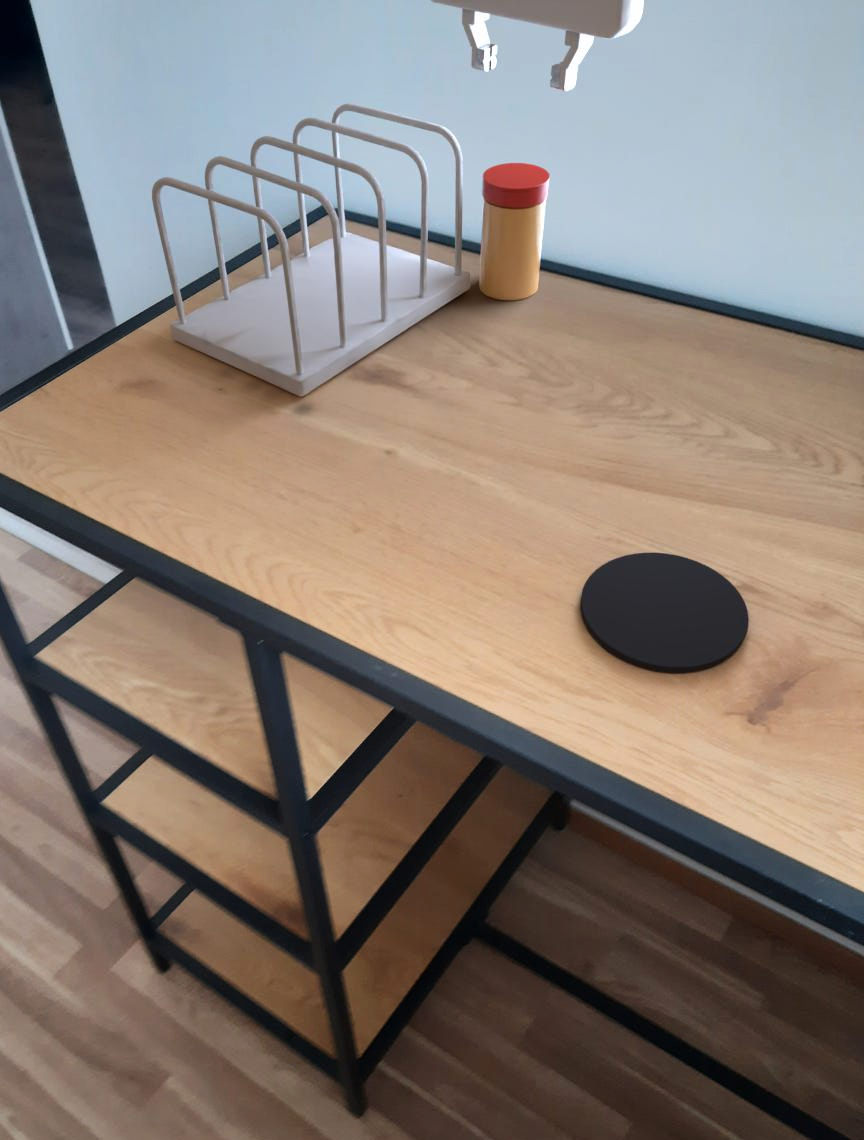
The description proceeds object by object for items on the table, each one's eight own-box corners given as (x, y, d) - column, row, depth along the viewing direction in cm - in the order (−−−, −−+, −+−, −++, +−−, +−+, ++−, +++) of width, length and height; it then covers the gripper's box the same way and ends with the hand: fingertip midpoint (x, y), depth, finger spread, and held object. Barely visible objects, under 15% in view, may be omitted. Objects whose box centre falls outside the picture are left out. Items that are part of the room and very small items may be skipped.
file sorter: (344, 247, 103) (334, 90, 92) (471, 292, 95) (478, 126, 84) (171, 340, 90) (135, 170, 79) (302, 401, 82) (283, 222, 71)
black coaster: (693, 544, 68) (695, 538, 68) (780, 650, 61) (782, 644, 60) (553, 578, 66) (554, 571, 66) (626, 691, 59) (627, 685, 58)
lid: (532, 177, 92) (533, 159, 91) (558, 201, 88) (560, 182, 86) (472, 186, 91) (473, 168, 89) (496, 211, 87) (497, 192, 85)
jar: (524, 269, 98) (532, 164, 91) (547, 294, 94) (558, 187, 87) (470, 278, 97) (474, 172, 90) (491, 304, 93) (498, 196, 86)
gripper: (678, -117, 69) (644, 93, 79) (462, -141, 78) (456, 48, 88) (630, -103, 65) (601, 113, 76) (412, -130, 75) (412, 65, 85)
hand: (522, 78), depth 82 cm, fingers open, 7 cm apart
